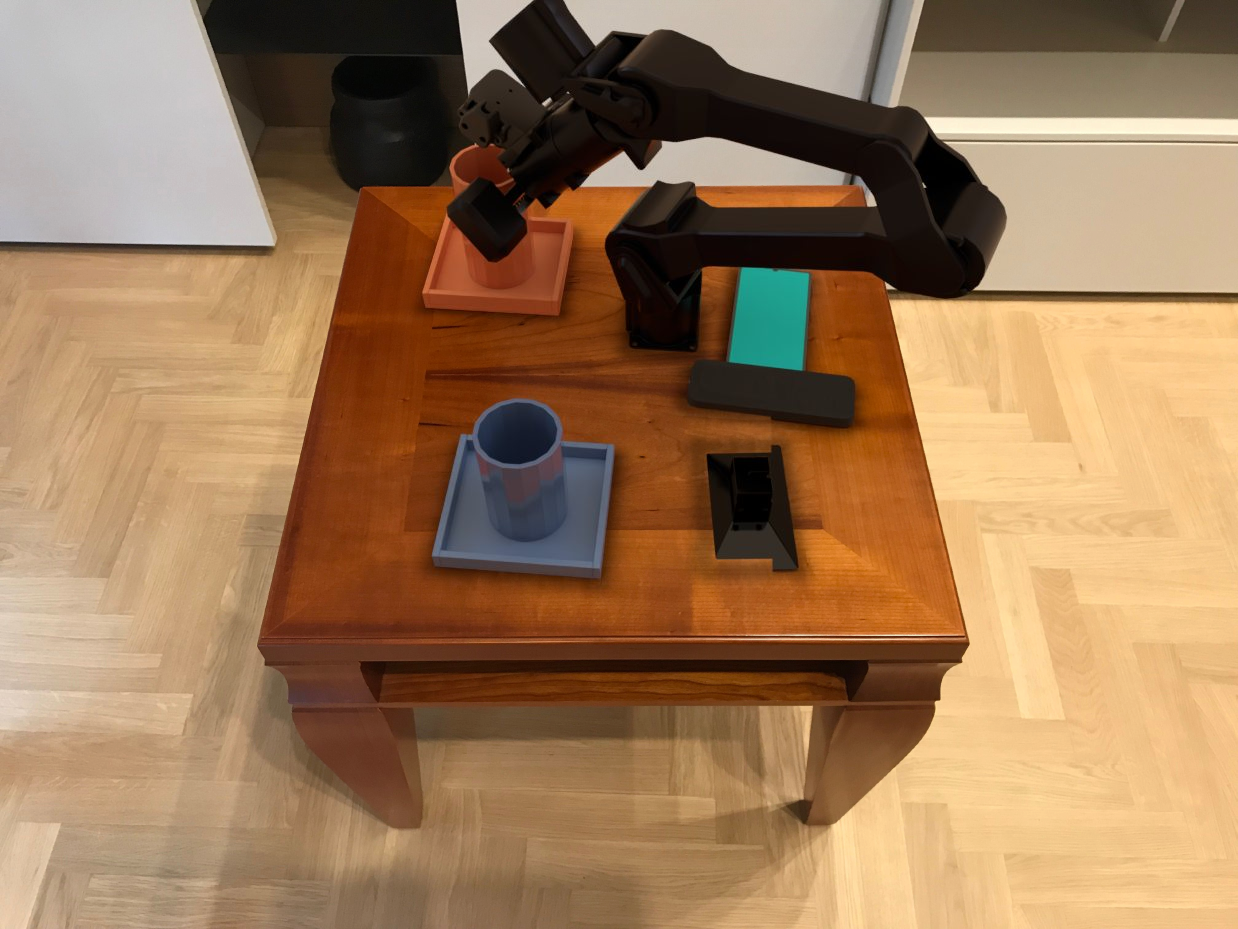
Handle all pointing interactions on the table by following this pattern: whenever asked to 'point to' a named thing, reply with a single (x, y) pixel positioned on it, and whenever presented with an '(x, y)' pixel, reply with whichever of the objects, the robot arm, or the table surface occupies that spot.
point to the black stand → (751, 508)
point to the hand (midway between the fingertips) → (482, 208)
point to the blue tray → (562, 553)
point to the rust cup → (489, 167)
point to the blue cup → (522, 468)
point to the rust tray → (533, 296)
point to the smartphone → (770, 318)
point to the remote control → (773, 392)
